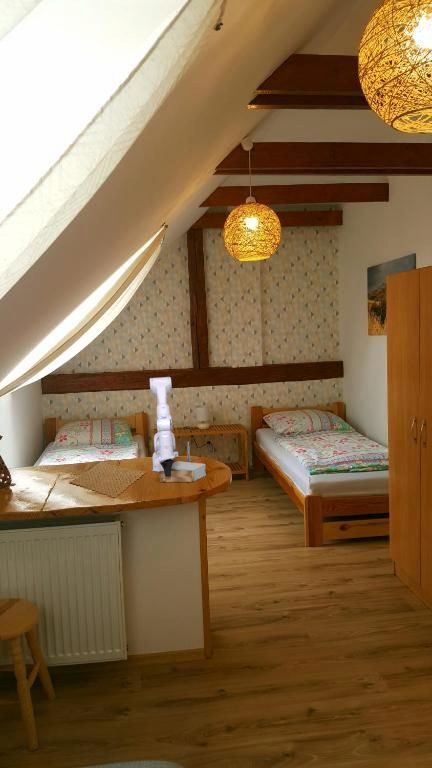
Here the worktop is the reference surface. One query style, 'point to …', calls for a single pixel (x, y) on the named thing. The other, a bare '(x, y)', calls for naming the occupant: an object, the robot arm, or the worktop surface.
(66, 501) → the worktop surface
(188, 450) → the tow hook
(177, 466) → the cabinet
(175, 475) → the door
